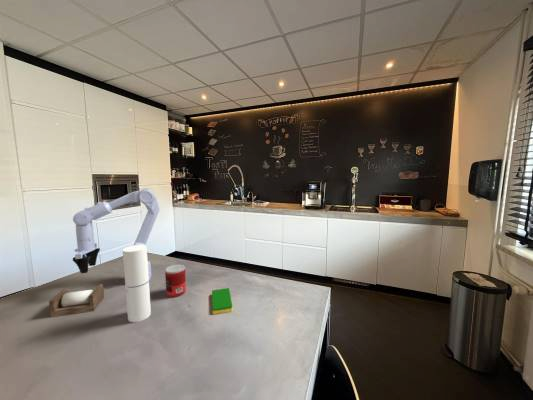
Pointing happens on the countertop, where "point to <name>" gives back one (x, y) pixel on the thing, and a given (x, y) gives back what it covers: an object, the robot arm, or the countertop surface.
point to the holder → (94, 301)
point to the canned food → (175, 280)
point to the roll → (76, 298)
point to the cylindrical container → (137, 282)
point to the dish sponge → (221, 301)
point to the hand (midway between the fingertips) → (88, 268)
